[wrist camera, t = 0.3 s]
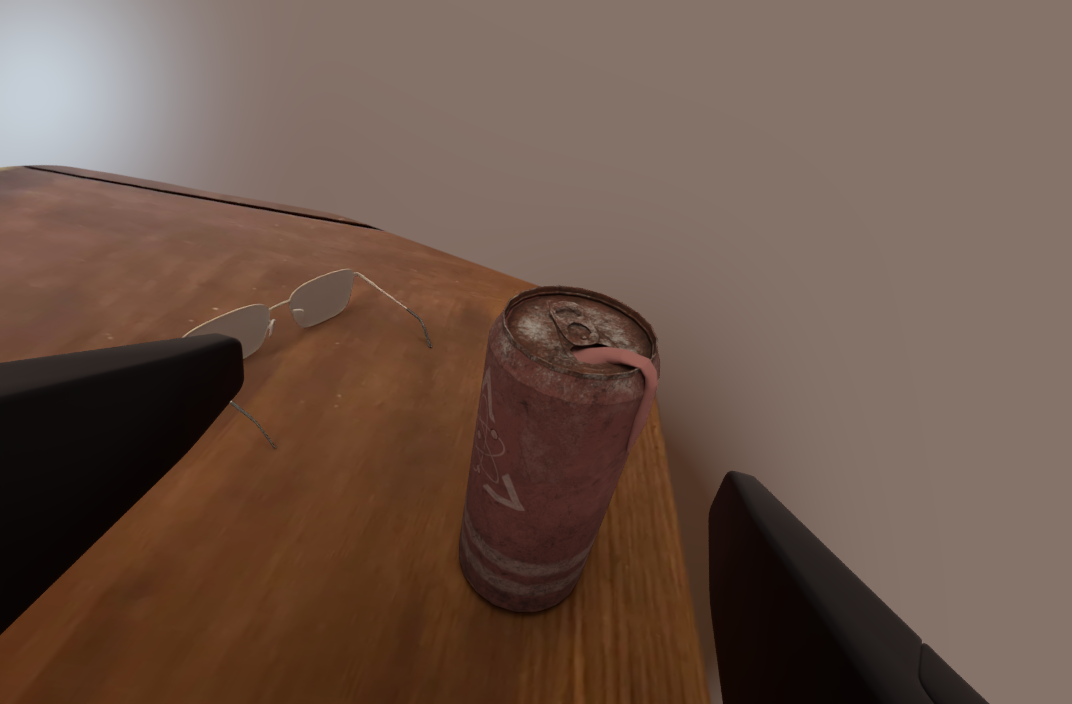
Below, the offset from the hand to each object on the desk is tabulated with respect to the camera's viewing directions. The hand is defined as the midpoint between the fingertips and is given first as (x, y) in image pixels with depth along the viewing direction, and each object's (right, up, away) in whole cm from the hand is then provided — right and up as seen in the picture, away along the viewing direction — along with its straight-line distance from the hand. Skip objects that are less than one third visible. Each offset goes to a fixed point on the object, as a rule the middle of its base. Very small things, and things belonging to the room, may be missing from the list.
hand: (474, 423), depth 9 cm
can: (0, -9, +17) cm, 19 cm away
